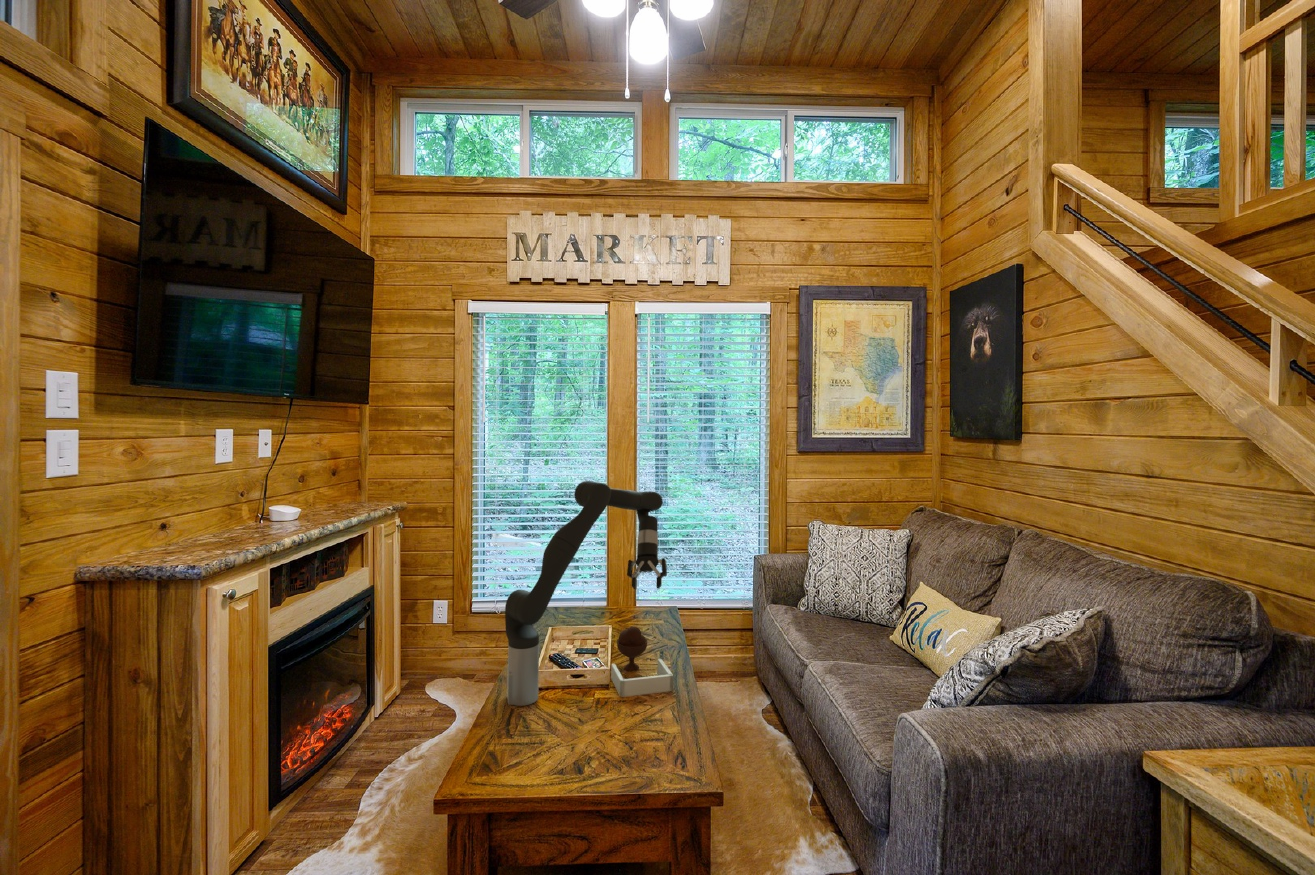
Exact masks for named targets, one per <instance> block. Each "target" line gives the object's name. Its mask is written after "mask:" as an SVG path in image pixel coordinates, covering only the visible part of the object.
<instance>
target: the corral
mask: <svg viewBox="0 0 1315 875" xmlns="http://www.w3.org/2000/svg"><path fill="white" fill-rule="evenodd" d="M610 668H611V670H610V671H611V672H610V680H611V681H612V683H613V685H614V687H615V689H616V692H617V693H618V695H619V697H620V698H625V697H634V696H641V695H643V696H644V695H651V694H659V693H667V692H674V687H675V686H674V680H675V677H674V674H673V673H672V671H671V670H670V668H669V667H668V666H667V664H666V663H665V662H664V661H663V659H662V658H658V659H657V672H656V673H657V675H651V676H650V675H649V676H642V677H633V678H632V677H631V678H624V677H623V676H622V674H621V672H620V670H619V669H618V666H617V665H616V663H611V666H610Z"/></svg>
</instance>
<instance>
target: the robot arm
mask: <svg viewBox="0 0 1315 875" xmlns="http://www.w3.org/2000/svg"><path fill="white" fill-rule="evenodd" d="M574 500H575V503H576V504H578V505H579V506H580V507H582V509H581V511H580V512H579V513H578V514H577V515H576V516H575V517H573V519H571V520H570V521H568V522H567V523H566V524H564V525H563V526H561V527H560V528H558V530H556V532H555V533H554V534H553V536H552V537H551V539H550V540H549V542H548V544H547V545H546V547H545V549H544V552H543V555H542V563H541V572H540V574H539V578H538V579H537V582H536V583H535V585H534V586H533V588H532V589H531V590H530V591H529V590H525V589H515V590H514V591H512V592H511V593H510V594H509V595H508V597H507V600H506V602H505V608H504V618H505V620H504V621H505V622H504V623H505V624H504V626H505V635H506V638H507V640H508V641H507V642H508V643H507V644H508V645H507V647H508V650H507V652H508V653H507V654H508V655H507V675H506V678H507V680H506V681H507V682H506V683H507V684H506V685H507V686H506V689H507V690H506V692H507V693H506V695H507V696H506V697H507V698H506V699H507V705H508V706H516V707H517V706H519V707H522V706H523V707H524V706H529V705H532V704H534V703H536V702H537V701H538V700H539V683H540V682H539V681H540V680H539V678H540V677H539V676H540V675H539V674H540V673H539V668H540V666H539V665H540V664H539V661H540V634H539V632H538V631H537V629H536V628H535V627H534V624H537V622H539V620H540V619H541V618H542V617H543V615H544V614H545V613H546V610H547V608H548V606H549V603H550V601H551V599H552V597H553V595H554V594H555V593H554V592H555V591H556V588H557V586H558V585H559V583H560V581H561V579H562V578H563V576H564V575H565V572H566V571H567V569H568V567H569V566H570V564H571V563H572V561H573V560H574V557H575V556H576V554H577V553H578V551H579V549H580V547H581V545H582V543H583V542H584V541H585V539H586V537H587V536H588V534H589V532H590V530H591V529H592V527H593V526H594V525H595V523H596V522H597V520H598V519H599V518H600V516H601V515H602V514H603V512H604V511H605V509H606V508H607V507H613V508H617V509H623V510H629V511H630V510H631V511H636V515H637V520H638V535H637V548H636V549H637V550H636V555H637V556H636V560H631V559H629V560H628V561H627V569H626V570H627V571H626V575H627V577H628V578H630V579H631V587H632V588H633V590H637V589H638V588H637V586H638V584H637V583H638V579H637V578H638V577H639V576H640V575H641V574H642V573H652V572H654V573H655V575H656V576H657V577H656V589H658V590H659V589H661V587H662V583H663V582H662V578H664V577H667V576H668V572H667V571H668V570H667V569H668V566H667V560H666V559H665V557H663V558H661V559H658V558H659V557H658V556H659V552H658V551H659V536H658V528H659V526H658V519H657V517H656V516H652V515H650V512H655V511H658V510H660V509H661V508H662V506H663V503H664V502H663V497H662V496H661V494H660V493H658V492H657V491H651V490H650V491H636V490H630V489H619V488H611V487H610V485H608V484H607V483H604V482H600V481H593V480H585V481H581V482H580V483H578V484H577V486H576V487H575V490H574ZM635 565H636V566H637V567H636V568H635V570H634V571H633V568H634V567H635ZM658 565H660V566H661V572H660V571H659V570H658V568H657V566H658Z"/></svg>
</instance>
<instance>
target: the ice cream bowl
mask: <svg viewBox="0 0 1315 875" xmlns="http://www.w3.org/2000/svg"><path fill="white" fill-rule="evenodd" d="M616 647H617V650H618V651H619V653H621V654H622V655H623V656H625V657H627V658H628V659H629V660H628V661H629V663H627V664H625V665H624V667H623V670H624V671H627V672H630V673H631V672H637V671H639V670H640V665H639V664H636V663H635V658H637V657H639V656H640V655H642V654H643V653H644V652H645V651H646V649H647V647H648V639H646V636H644V635H643V634H642V631H641V629H640V628H639V627H638V626H634V625H633V626H630V627H628V628H625V629H623V630H622V631H621V632H620V633H619V635H618V639H616Z"/></svg>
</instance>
